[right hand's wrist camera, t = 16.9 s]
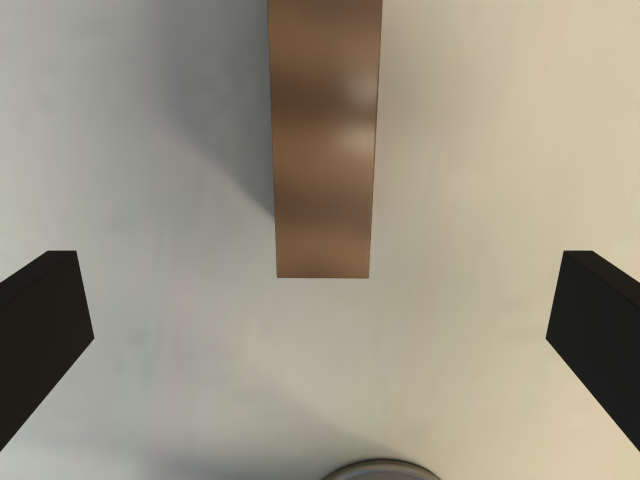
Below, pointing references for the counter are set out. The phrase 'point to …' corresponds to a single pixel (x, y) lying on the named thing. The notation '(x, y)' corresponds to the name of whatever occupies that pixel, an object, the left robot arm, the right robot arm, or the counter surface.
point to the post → (323, 133)
